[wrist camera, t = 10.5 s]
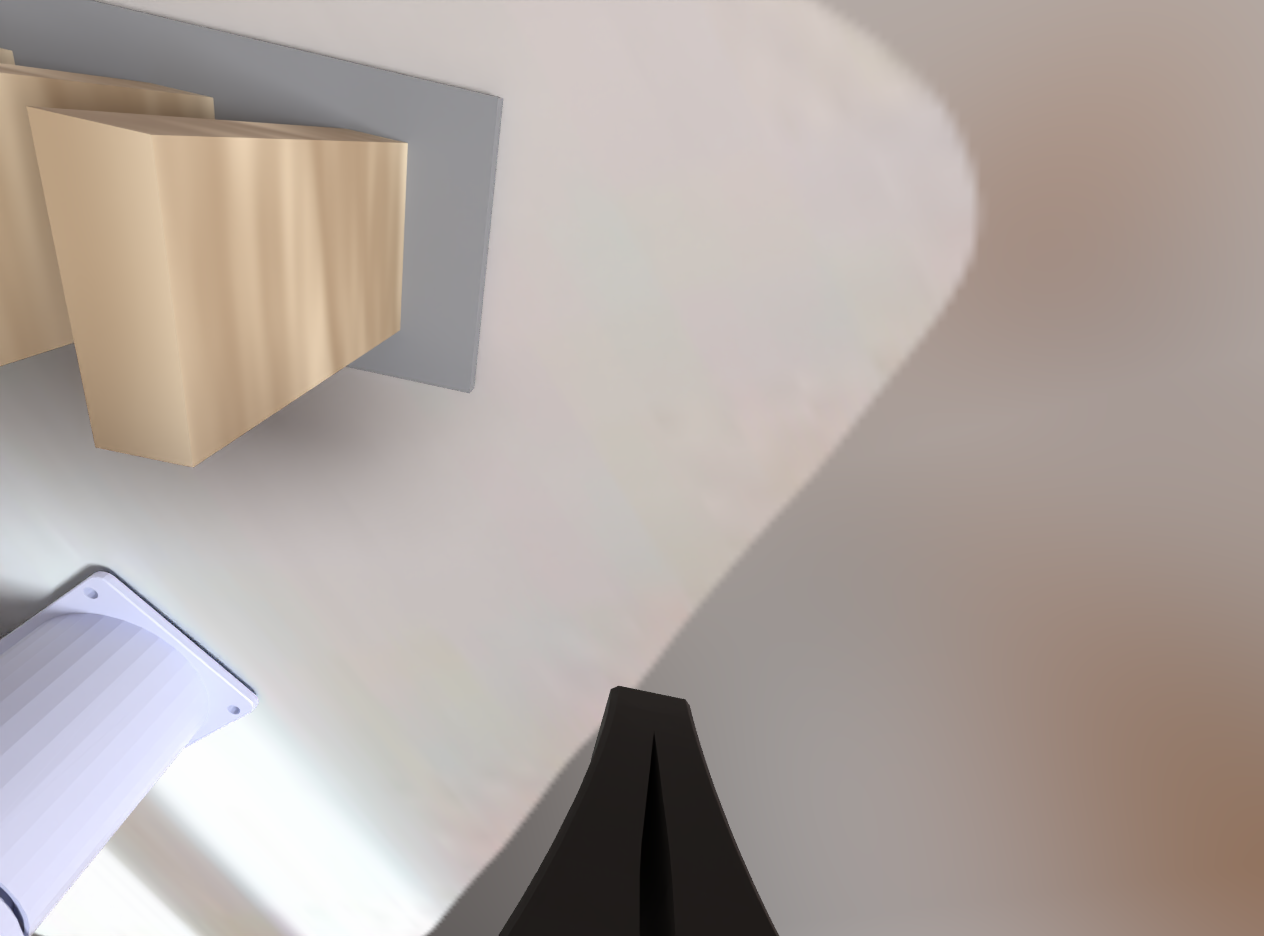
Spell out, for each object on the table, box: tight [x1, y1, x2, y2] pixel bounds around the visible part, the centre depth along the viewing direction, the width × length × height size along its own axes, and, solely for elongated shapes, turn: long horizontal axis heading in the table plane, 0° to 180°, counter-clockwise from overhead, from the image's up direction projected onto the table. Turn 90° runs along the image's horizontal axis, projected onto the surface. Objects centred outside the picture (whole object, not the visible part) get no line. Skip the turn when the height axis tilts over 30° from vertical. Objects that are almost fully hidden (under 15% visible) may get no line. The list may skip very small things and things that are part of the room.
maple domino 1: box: [0, 63, 215, 366], centre depth 13 cm, size 2×5×9 cm, turn 168°
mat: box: [0, 0, 503, 393], centre depth 17 cm, size 26×8×1 cm, turn 78°
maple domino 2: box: [26, 106, 408, 467], centre depth 13 cm, size 2×5×9 cm, turn 168°
